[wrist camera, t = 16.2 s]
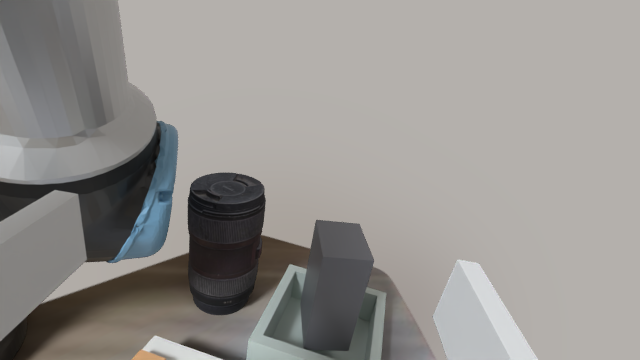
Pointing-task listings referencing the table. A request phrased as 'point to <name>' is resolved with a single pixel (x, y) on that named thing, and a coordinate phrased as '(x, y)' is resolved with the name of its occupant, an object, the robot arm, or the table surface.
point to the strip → (170, 351)
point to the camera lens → (224, 240)
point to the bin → (286, 327)
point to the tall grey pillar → (334, 285)
